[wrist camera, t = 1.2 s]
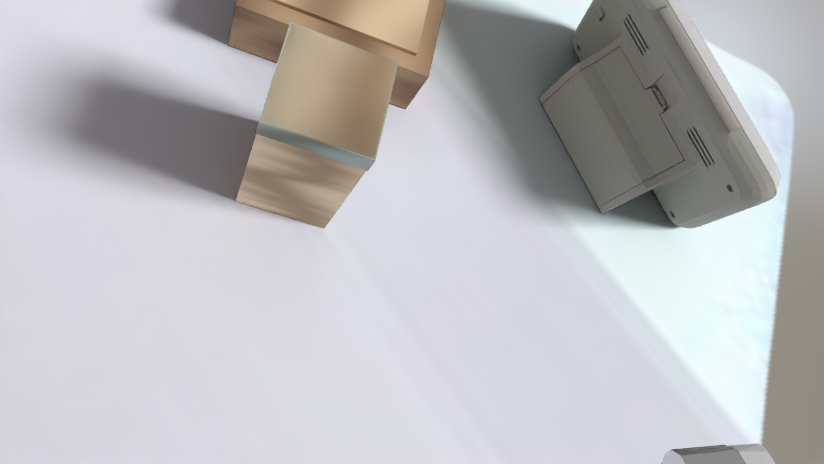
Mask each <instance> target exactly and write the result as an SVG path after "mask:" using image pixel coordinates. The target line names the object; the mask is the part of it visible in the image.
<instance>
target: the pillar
mask: <svg viewBox="0 0 824 464" xmlns="http://www.w3.org/2000/svg"><path fill="white" fill-rule="evenodd" d="M398 64H399V62H396V61H394V60H391V59H388V58H386V57H383V56H380V55H378V54H375V53H372V52H370V51H367V50H364V49H362V48H359V47H356V46H354V45H351V44H348V43H346V42H343V41H340V40H338V39H335V38H332V37H330V36H327V35H324V34H322V33H319V32H317V31H314V30H311V29H309V28H306V27H303V26H301V25H298V24H295V23H293V22H290V25H289V28H288V31H287V34H286V37H285V40H284V44H283V47H282V50H281V53H280V56H279V59H278V62H277V66H276V69H275V72H274V75H273V78H272V81H271V85H270V88H269V91H268V94H267V97H266V100H265V104H264V107H263V110H262V113H261V116H260V119H259V123H258V126H257V129H256V132H255V134H256V137H255V140H254V143H253V146H252V150H251V153H250V156H249V159H248V163H247V166H246V169H245V172H244V175H243V179H242V182H241V185H240V188H239V192H238V195H237V198H236V202H240V203H243V204H246V205H250V206H253V207H256V208H259V209H263V210H266V211H269V212H272V213H276V214H279V215H282V216H286V217H289V218H292V219H295V220H299V221H302V222H305V223H308V224H312V225H315V226H318V227H321V228H325V227H326V225H327V224H328V222H329V221H330V220H331V218H332V217H333V216H334V214H335V213H336V211H337V210H338V209H339V207H340V206H341V205H342V203H343V202H344V200H345V199H346V198H347V196H348V195H349V194H350V192H351V191H352V189H353V188H354V187H355V185H356V184H357V183H358V181H359V180H360V178H361V177H362V176H363V174H364V173H365V172H366V170H367V171H368V170H369V169H370V167H371V166H372V164H373V163H374V162H375V160H376V156H377V152H378V148H379V143H380V139H381V135H382V131H383V127H384V123H385V118H386V114H387V110H388V106H389V102H390V97H391V93H392V89H393V85H394V81H395V77H396V72H397V68H398Z"/></svg>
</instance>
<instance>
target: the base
mask: <svg viewBox="0 0 824 464" xmlns="http://www.w3.org/2000/svg"><path fill="white" fill-rule="evenodd" d="M444 4H445V0H237V2H236V4H235V10H234V16H233V21H232V27H231V33H230V39H229V44H228V45H229V46H232V47H235V48H237V49H240V50H243V51H246V52H248V53H251V54H254V55H257V56H260V57H262V58H265V59H268V60H271V61H273V62H276V63H277V62H278V59H279V56H280V53H281V50H282V47H283V44H284V40H285V37H286V34H287V31H288V28H289V25H290V22H293V23H295V24H298V25H301V26H303V27H306V28H309V29H311V30H314V31H317V32H319V33H322V34H324V35H327V36H330V37H332V38H335V39H338V40H340V41H343V42H346V43H348V44H351V45H354V46H356V47H359V48H362V49H364V50H367V51H370V52H372V53H375V54H378V55H380V56H383V57H386V58H388V59H391V60H394V61H396V62H399V64H398V68H397V72H396V77H395V81H394V85H393V89H392V93H391V97H390V102H389V103H390V104H393V105H396V106H399V107H401V108H404V109H406V108H407V106H408V105H409V104H410V102H411V101H412V99H413V98H414V97H415V95H416V94H417V92H418V91H419V90H420V88H421V87H422V85H423V84H424V83H425V81H426V80H427V78H428V77H429V72H430V68H431V63H432V59H433V54H434V49H435V45H436V40H437V36H438V31H439V26H440V22H441V17H442V13H443V8H444Z"/></svg>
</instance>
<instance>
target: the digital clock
mask: <svg viewBox="0 0 824 464" xmlns="http://www.w3.org/2000/svg"><path fill="white" fill-rule="evenodd" d="M573 47H574V50H575V52H576V54H577V56H578V58H579V59H580V61H581V62H579V63H577V64H576V65H575V66H573V67H572V68H571V69H569V70H568V71H567V72H566V73H565V74H564V75H563V76H562V77H561V78H560V79H559V80H557V81H556V82H555V83H554V84H553V85H552V86H551V87H550V88H549V89H548V90H547V91H546V92H545V93H544V94H543V95H542V96H541V97H540V98H539V100H540V102H541V104H542V105H543V107H544V109H545V111H546V113H547V115H548V116H549V118H550V120H551V122H552V124H553V125H554V127H555V129H556V131H557V133H558V135H559V136H560V138H561V140H562V142H563V144H564V146H565V147H566V149H567V151H568V153H569V155H570V156H571V158H572V160H573V162H574V164H575V166H576V167H577V169H578V171H579V173H580V175H581V177H582V178H583V180H584V182H585V184H586V186H587V187H588V189H589V191H590V193H591V195H592V197H593V198H594V200H595V202H596V204H597V206H598V207H599V209H600V211H601V213H602V214H603V213H606V212H608V211H610V210H612V209H614V208H616V207H618V206H620V205H622V204H624V203H626V202H628V201H630V200H632V199H634V198H636V197H638V196H640V195H642V194H644V193H646V192H648V191H650V190H653V192H654V193H655V195H656V197H657V199H658V200H659V202H660V204H661V206H662V207H663V209H664V211H665V212H666V214H667V216H668V217H669V219H670V220H671V221H672V223H674V224H675V225H677V226H680V227H684V228H695V227H699V226H702V225H705V224H707V223H710V222H713V221H716V220H718V219H721V218H724V217H726V216H729V215H732V214H735V213H737V212H740V211H743V210H746V209H748V208H751V207H754V206H756V205H759V204H761V203H764V202H766V201H768V200H770V199H772V198H773V197H774V196H775V195H776V193H777V190H778V186H779V182H780V178H781V175H780V171H779V168H778V166H777V164H776V162H775V161H774V159H773V157H772V155H771V154H770V152H769V150H768V148H767V146H766V145H765V143H764V141H763V140H762V138H761V136H760V134H759V133H758V131H757V129H756V128H755V126H754V124H753V122H752V121H751V119H750V117H749V116H748V114H747V112H746V111H745V109H744V107H743V105H742V104H741V102H740V100H739V99H738V97H737V95H736V94H735V92H734V90H733V88H732V87H731V85H730V83H729V82H728V80H727V78H726V77H725V75H724V73H723V72H722V70H721V68H720V66H719V65H718V63H717V61H716V60H715V58H714V56H713V55H712V53H711V51H710V49H709V48H708V46H707V44H706V43H705V41H704V39H703V38H702V36H701V34H700V33H699V31H698V29H697V27H696V26H695V24H694V22H693V21H692V19H691V17H690V16H689V14H688V12H687V10H686V9H685V7H684V5H683V4H682V2H681V0H593V2H592V3H591V5H590V7H589V9H588V10H587V12H586V14H585V15H584V17H583V19H582V21H581V22H580V24H579V26H578V27H577V29H576V31H575V34H574V36H573Z"/></svg>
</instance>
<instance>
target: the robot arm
mask: <svg viewBox="0 0 824 464" xmlns="http://www.w3.org/2000/svg"><path fill="white" fill-rule="evenodd" d="M661 464H776V463H775V462H774V461H773V459H772V458H771V456H770V455H769V453H768V452H767V451H766V449H765V448H764V447H762V446H761V445H760V444H754V443H751V444H741V445H730V446H726V445H717V446H706V447H695V448H683V449H672V450H670V451H669V452H667V453H666V454H665V456H664V458H663V461H662V463H661Z"/></svg>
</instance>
